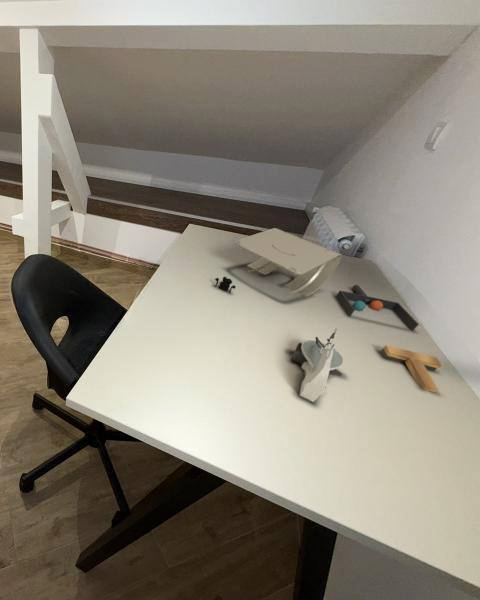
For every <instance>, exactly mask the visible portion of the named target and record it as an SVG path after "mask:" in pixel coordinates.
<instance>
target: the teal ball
mask: <svg viewBox="0 0 480 600" xmlns="http://www.w3.org/2000/svg"><path fill="white" fill-rule="evenodd" d="M351 305H352V306H353V308H354V309H355V311H359V312H360V311H364V310H365V308H366V307H367V306H366V305H367V304H365V303H364V302H362V301H353V303H352V304H351Z"/></svg>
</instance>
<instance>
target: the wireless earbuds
mask: <svg viewBox="0 0 480 600" xmlns="http://www.w3.org/2000/svg"><path fill="white" fill-rule="evenodd" d="M214 280H215V281H216V283H215V286H214V287H217V286H218V284H219V286H218V289H219V290H220V291H223V292H228V294H230V293H231V292H232V289H233V290H235V289H236V287H237V286H236V285H234V284H233V280H232V279H231V278H228V277H227V276H223V277H222V280H221V281H220V278H219V277H215V279H214ZM219 281H220V283H219ZM231 284H233V285H231Z"/></svg>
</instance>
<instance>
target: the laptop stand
mask: <svg viewBox="0 0 480 600" xmlns="http://www.w3.org/2000/svg"><path fill="white" fill-rule="evenodd" d="M233 244H235V245H237V246H239V247H241V248H243V249H245V250H247V251H249V252H251V253H253V254H255V255H258V256H259V258H258V259H256V260H255V261H253V262H251V263H249V264H247V265H246V266H247V267H248V268H251V269H250V270H247V273H252V272H258V273H260V274H262V275H264V276H265V275H269V274H271V273H272V272H274V271H275V270H277V269H279V268H280V267H282V268H283V269H286V270H287V271H290V272H292V273H293V274H295V275H297V276H296V277H295V278H294V279H292V280H291V281H289V282H288V283H285V284H284V285H283V286H284V287H285V288H288V289H290V291H287V292H286V294H288V295H289V294H293V293H298V294H299V295H301V296H303V297H305V298H308V297H310V296H312V295H313V294H315V293H316V292H317V291H318V290H320V289H321V288H322V287H323V285H325V284H326V282H328V280H329V279H330V277H332V275H333V273H334V272H335V270H336V269H337V267H338V265H339V263H341V260H342V257H343V254H342V253H339V252H337V251H334V250H332V249H328V248H327V247H324V246H321V245H319V244H316V243H314V242H311V241H309V240H306V239H304V238H301V237H299V236H297V235H294V234H292V233H290V232H285V231H284V230H282V229H280V228H276V227H273V228H270V229H267V230H264V231H260V232H258V233H254V234H251V235H248V236H245V237H243V238H239V239H236V240H234V241H233Z"/></svg>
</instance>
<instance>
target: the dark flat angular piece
mask: <svg viewBox="0 0 480 600" xmlns="http://www.w3.org/2000/svg"><path fill="white" fill-rule="evenodd" d="M351 288H352V290H353V291H354V292H350V291H345V290H341V289H340V290H338V292H337V294H336V296H335V298H336V299H337V301H338V303H339V305H340V306H341V308H342V309H343V310H344V312H345V314H346V315H347V317H351V316H352V315H353V314H354V312H355V311H356V310H355V309H354V308H353V306H352V305H353V304H351V302H355V301H362V302H364V303H365V305H368V306H370V303H371V302H372V301H376V300H377V301H380V302H382V303H383V307H382V308H381V309H387V310H391V311H393V312H394V314H395V315H396V316H397V317H398V318H399V319H400V320H401V321H402V323H403V324H405V325H406V327H407V328H408V329H409V330H410V331H411V332H414V331H415V330H416V328H417V327H418V326H419V325H420V324H419V322H417V320H416V319H415V318H414V317H413V316H412V315H411V314H410V313H409V312H408V311H407V310H406V309H405V308H404V307H403V305H401V304H400V303H399V302H397V301H392V300H387V299H383V298H378V297H373V296H368V294H367V293H366V292H365V291H364V290H363V289H362V287H361V286H360V285H358V284H354V285H352V286H351Z"/></svg>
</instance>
